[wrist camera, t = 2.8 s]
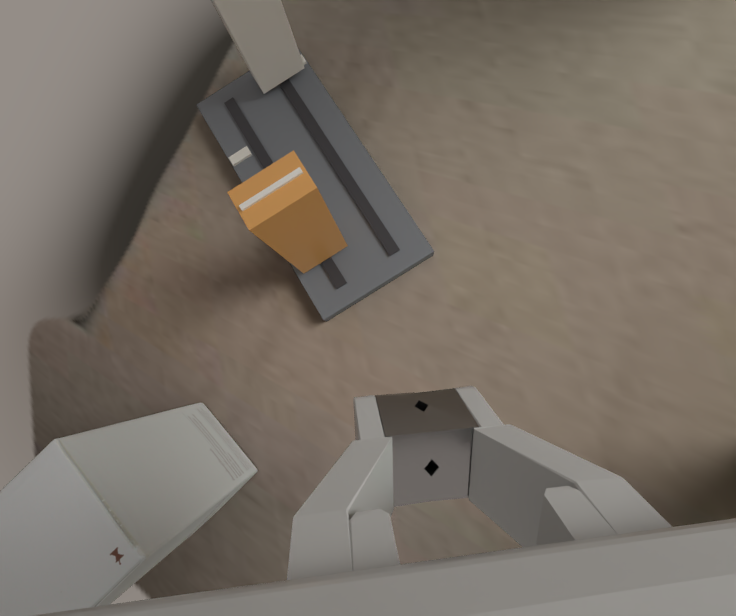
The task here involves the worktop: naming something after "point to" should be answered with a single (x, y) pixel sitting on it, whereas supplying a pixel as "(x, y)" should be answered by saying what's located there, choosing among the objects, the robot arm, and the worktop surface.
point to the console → (321, 181)
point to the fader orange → (289, 213)
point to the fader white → (262, 39)
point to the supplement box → (111, 507)
